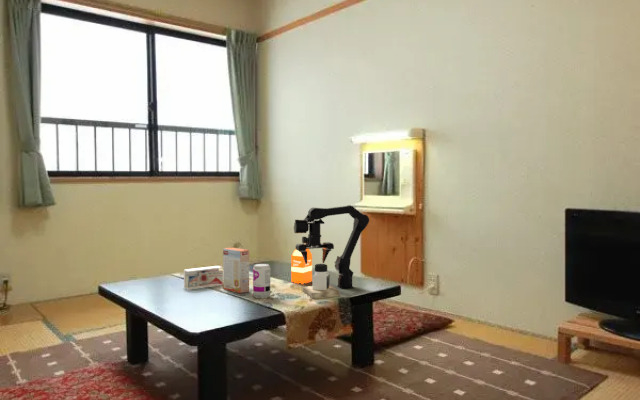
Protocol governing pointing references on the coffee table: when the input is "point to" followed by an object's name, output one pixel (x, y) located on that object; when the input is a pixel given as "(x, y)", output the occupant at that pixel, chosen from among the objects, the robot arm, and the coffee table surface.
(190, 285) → the cigarette display
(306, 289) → the pale wooden riser board
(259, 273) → the supplement can
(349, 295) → the coffee table surface
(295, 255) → the orange juice
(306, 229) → the robot arm
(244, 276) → the cracker box
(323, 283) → the medicine bottle
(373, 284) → the coffee table surface
